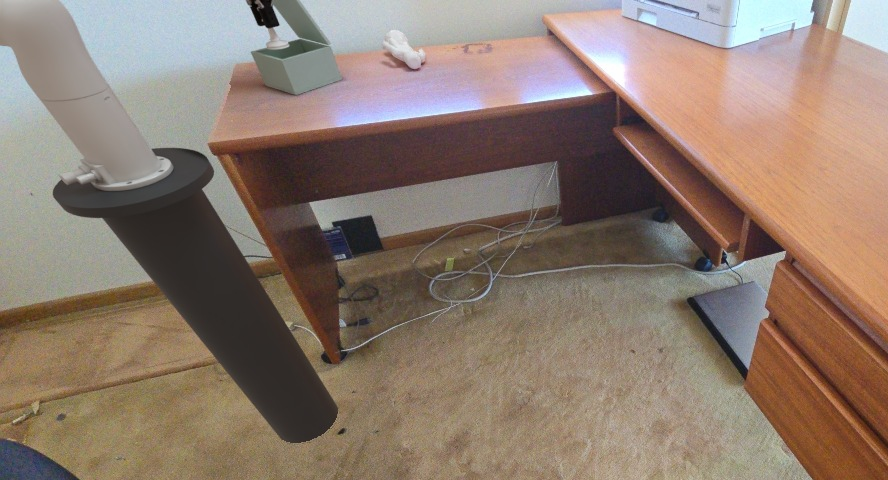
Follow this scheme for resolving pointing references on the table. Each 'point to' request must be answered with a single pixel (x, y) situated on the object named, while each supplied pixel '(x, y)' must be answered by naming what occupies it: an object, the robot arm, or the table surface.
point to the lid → (300, 20)
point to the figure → (402, 49)
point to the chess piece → (275, 40)
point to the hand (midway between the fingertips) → (268, 25)
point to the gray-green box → (297, 66)
